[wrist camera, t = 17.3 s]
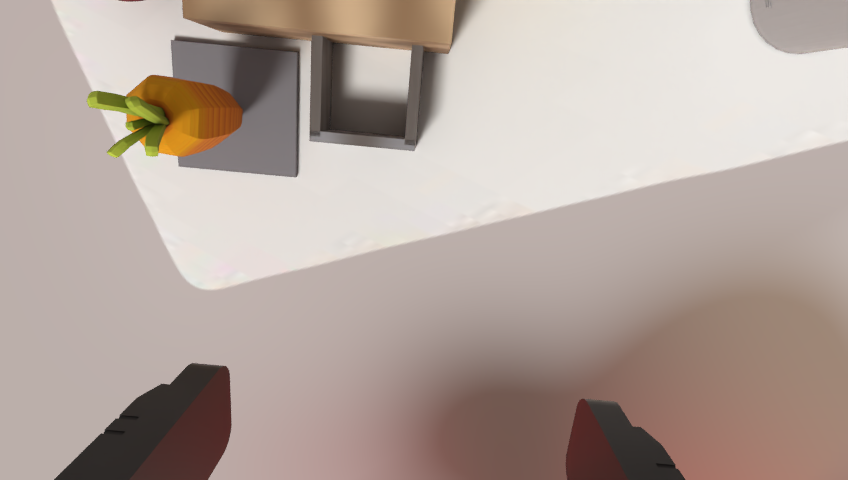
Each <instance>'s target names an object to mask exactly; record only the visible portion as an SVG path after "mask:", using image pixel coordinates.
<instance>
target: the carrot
mask: <svg viewBox="0 0 848 480" xmlns="http://www.w3.org/2000/svg"><path fill="white" fill-rule="evenodd" d="M87 103H88V106H89V107H92V108H98V109H104V110H112V111H119V112H123V113H126V114H127V122H126V128H127V129H128V130H130V131H132V132H133V133H132V134H130V135H128V136H126V137H125V138H123V139H121V140H119V141H118V142H117V143H116V144H114V145H113V146H112V147H111V148H110V149H109V150H108V152H107V153H108V154H109V155H110V156H113V157H116V158H117V157H119V156H120V155H121V154H122V153H124V152H125V151H126V150H127V149H128V148H129V147H130V146H132V145H133V144H134V143H136V142H137V141H140V142H141V143H142V144H143V145H144V147H145V151H146V155H147V156H152V157H153V156H158V153H163V154H169V155H174V156H180V157H185V156H189V155H192V154H196V153H199V152H202V151H205V150H208V149H211V148H213V147H214V146H216V145H218V144H219V143H221V142H222V141H223V140H224V139H226V138H227V137H228V136H230V135H231V134H232V133H233V132H235V131H236V130H237V129H238V128H240V127H241V124H242V114H243V109H242V108H241V107H240V106H239V104H238V103H237V102H236V100H235V99H234V98H233V97H232V95H231V94H230V93H228V92H227V91H225V90H223V89H221V88H219V87H217V86H215V85H210V84H205V83H200V82H194V81H189V80H184V79H178V78H173V77H166V76H158V75H150V76H148V77H147V78H146V79H145V80H143V81H142V82H141V83H140V84H139V85H138V86H136V87H135V88H134V89H133V90H132V91H131V92H130V93H128V94H127V95H126V96H122V95H117V94H113V93H107V92H101V91H94V92H91V93H90V94H89V96H88V99H87Z"/></svg>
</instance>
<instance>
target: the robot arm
mask: <svg viewBox="0 0 848 480" xmlns="http://www.w3.org/2000/svg"><path fill="white" fill-rule="evenodd" d="M750 6H751V14H752V18H753V23H754V25H755V27H756V29H757V31H758V33H759V34H760V35H761V37H762V38H763V39H764V40H765V41H766V42H767V43H768V44H770V45H771V46H773V47H774V48H776V49H778V50H781V51H784V52H787V53H794V54H804V53H811V52H818V51H825V50H833V49H840V48H848V0H750ZM230 432H231V398H230V374H229V370H228V368H227V367H226V366H219V365H207V364H196V363H192V364H190V365H188V366H187V367H186V368H185V369H184V370H183V371H182V372H181V373H180V374H179V376H178V377H177V378H176V379H175V380H174V381H173V382H172V383H171V384H170V385H167V384H161V385H159V386H157V387H155V388H154V389H152V390H150V391H148V392H147V393H145V394H143V395H141V396H140V397H138V398H137V399H136V400H134V401H133V402H132V403H131V404H130V405H129V406H128V407H127V408H126V410H125V411H123V413H122V414H120V417H119V419H115V420H114V421H113V422H112V423H111V424H110V425H109V426H108V427H107V428H106V429H105V432H104V434H100V435H99V436H98V437H97V438H96V439H95V440H94V441H93V442H92V443H91V444H90V445H89V446H88V447H87V448H86V449H85V450H84V451H83V452H82V453H81V454H80V455H79V456H78V457H77V458H76V459H75V460H74V461H73V462H72V463H71V464H70V465H69V466H67V468H66V469H64V470H63V471H62V472H61V473H60V474H59V475H58V476H57V477H56V478H55V479H54V480H208V478H209V477H210V475H211V473H212V472H213V470H214V469H215V467H216V465H217V464H218V462H219V460H220V459H221V457H222V455H223V453H224V451H225V449H226V447H227V444H228V441H229V437H230ZM566 475H567V480H685V478H684V477H683V475H682V474H681V473H680V471H679V470H678V469H676V468H675V464H674V462H673V461H672V459H671V458H670V456H669V455H668V454H667V452H666V450H665V449H664V448H663V446H662V445H661V444H660V443H659V442H658V441H656V440H655V439H654V438H653V437H652V436H650V435H649V434H648V433H647V432H646V431H645V430H643V429H642V428H641V427H632V425H631V423H630V422H629V420H628V419H627V417H626V416H625V414H624V412H623V411H622V409H621V407H620V406H619V405H618V403H616V402H613V401H602V400H591V399H581V400H580V401H579V402H578V405H577V408H576V413H575V417H574V422H573V426H572V431H571V435H570V440H569V445H568V449H567V454H566Z"/></svg>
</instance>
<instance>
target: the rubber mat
mask: <svg viewBox="0 0 848 480" xmlns="http://www.w3.org/2000/svg"><path fill="white" fill-rule="evenodd" d="M171 50H172V66H173V78H178V79H184V80H189V81H194V82H200V83H205V84H210V85H215V86H217V87H219V88H221V89H223V90H225V91H227V92H228V93H230V94H231V95H232V97H233V98H234V99H235V100H236V102H237V103H238V104H239V106H240V107H241V108H242V109H243V114H242V124H241V127H240V128H238V129H237V130H236V131H235V132H233V133H232V134H231V135H230V136H228V137H227V138H226V139H224V140H223V141H222V142H221V143H219V144H218V145H216V146H214V147H213V148H211V149H208V150H205V151H202V152H199V153H196V154H192V155H189V156H185V157H180V156H178V163H179V166H180V167H190V168H201V169H212V170H222V171H233V172H244V173H255V174H265V175H276V176H287V177H297V118H298V53H297V52H289V51H279V50H268V49H258V48H247V47H237V46H227V45H216V44H206V43H195V42H185V41H175V40H171Z"/></svg>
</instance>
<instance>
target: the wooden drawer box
mask: <svg viewBox="0 0 848 480" xmlns="http://www.w3.org/2000/svg"><path fill="white" fill-rule="evenodd" d="M182 2H183V18H185V19H188V20H191V21H194V22H196V23H199V24H202V25H205V26H208V27H210V28H213V29H216V30H219V31H221V32H227V33H237V34H248V35H258V36H268V37H279V38H289V39H300V40H310V41H311V93H310V141H314V142H324V143H335V144H346V145H356V146H367V147H377V148H388V149H399V150H409V151H414V150H415V148H416V139H417V127H418V116H419V104H420V92H421V80H422V68H423V56H424V52H435V53H445V54H448V53H449V50H450V46H451V42H452V32H453V22H454V12H455V2H456V0H182ZM333 43H341V44H352V45H362V46H372V47H383V48H393V49H403V50H412V53H411V66H410V79H409V92H408V104H407V117H406V130H405V136H395V135H385V134H374V133H363V132H353V131H342V130H332V129H330V116H331V85H332V53H333Z"/></svg>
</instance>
